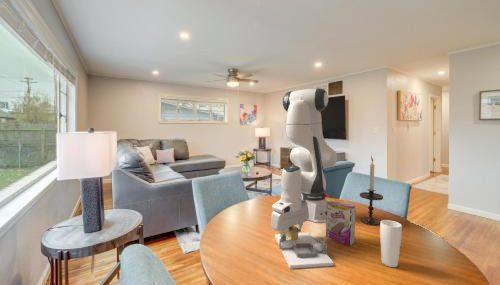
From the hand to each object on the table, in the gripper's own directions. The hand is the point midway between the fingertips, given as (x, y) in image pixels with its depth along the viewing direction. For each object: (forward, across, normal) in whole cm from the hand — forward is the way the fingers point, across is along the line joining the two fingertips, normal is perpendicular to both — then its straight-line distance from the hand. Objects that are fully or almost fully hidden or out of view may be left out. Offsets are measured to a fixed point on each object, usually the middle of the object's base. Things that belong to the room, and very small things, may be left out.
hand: (290, 235), depth 100 cm
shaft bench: (+3, +2, +7) cm, 8 cm away
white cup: (+3, -17, +33) cm, 37 cm away
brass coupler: (+2, 0, 0) cm, 2 cm away
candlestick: (+3, -50, +10) cm, 51 cm away
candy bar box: (+3, -19, +12) cm, 22 cm away
